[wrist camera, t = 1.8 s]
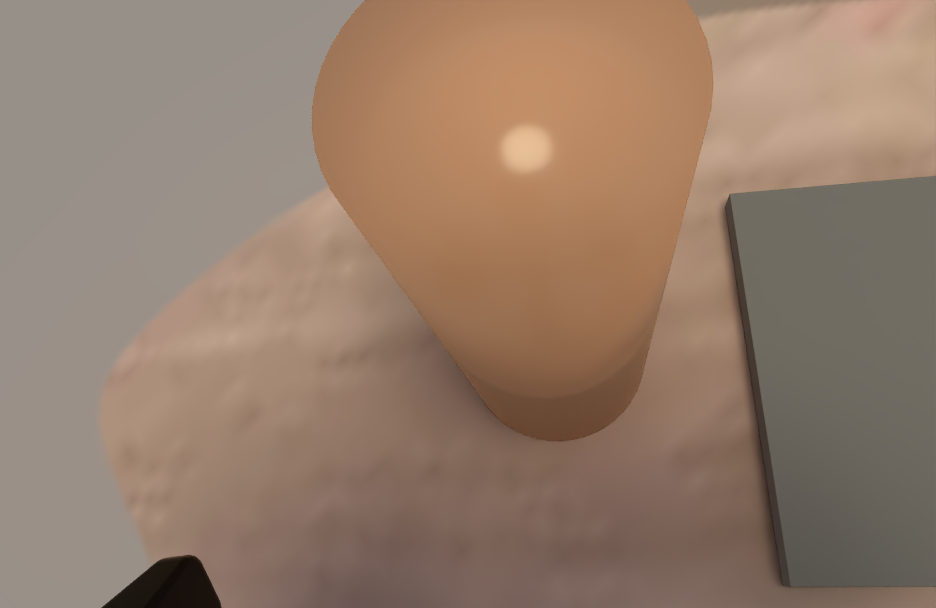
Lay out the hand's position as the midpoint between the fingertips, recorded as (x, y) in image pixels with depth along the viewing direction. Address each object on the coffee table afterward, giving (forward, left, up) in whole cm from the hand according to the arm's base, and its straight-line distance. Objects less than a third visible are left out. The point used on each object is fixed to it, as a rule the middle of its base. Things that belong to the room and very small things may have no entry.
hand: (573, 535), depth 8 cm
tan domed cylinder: (+5, +1, -12) cm, 13 cm away
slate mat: (+4, -10, -12) cm, 17 cm away
